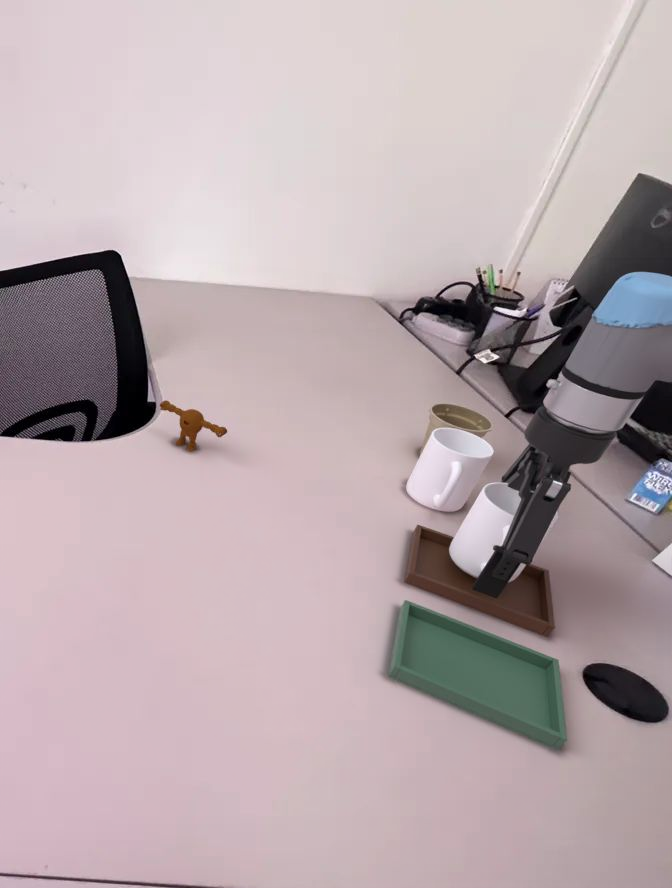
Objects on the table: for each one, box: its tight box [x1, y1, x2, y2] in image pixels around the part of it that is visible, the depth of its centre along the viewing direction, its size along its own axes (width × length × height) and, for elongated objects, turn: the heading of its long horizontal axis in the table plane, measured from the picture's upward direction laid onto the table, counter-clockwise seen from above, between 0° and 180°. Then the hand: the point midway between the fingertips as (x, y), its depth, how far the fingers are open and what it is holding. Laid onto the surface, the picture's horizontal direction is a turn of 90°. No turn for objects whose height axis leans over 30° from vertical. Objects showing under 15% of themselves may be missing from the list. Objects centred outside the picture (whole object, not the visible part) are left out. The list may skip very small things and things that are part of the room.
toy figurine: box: [159, 400, 228, 452], centre depth 108 cm, size 12×4×7 cm, turn 47°
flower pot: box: [419, 402, 495, 457], centre depth 112 cm, size 9×9×9 cm
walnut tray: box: [403, 524, 556, 638], centre depth 88 cm, size 16×12×2 cm
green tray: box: [387, 599, 568, 751], centre depth 75 cm, size 16×12×2 cm
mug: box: [449, 481, 559, 582], centre depth 84 cm, size 12×8×10 cm
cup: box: [405, 428, 495, 513], centre depth 100 cm, size 8×12×10 cm
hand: (484, 563), depth 87 cm, fingers closed on mug, 12 cm apart
